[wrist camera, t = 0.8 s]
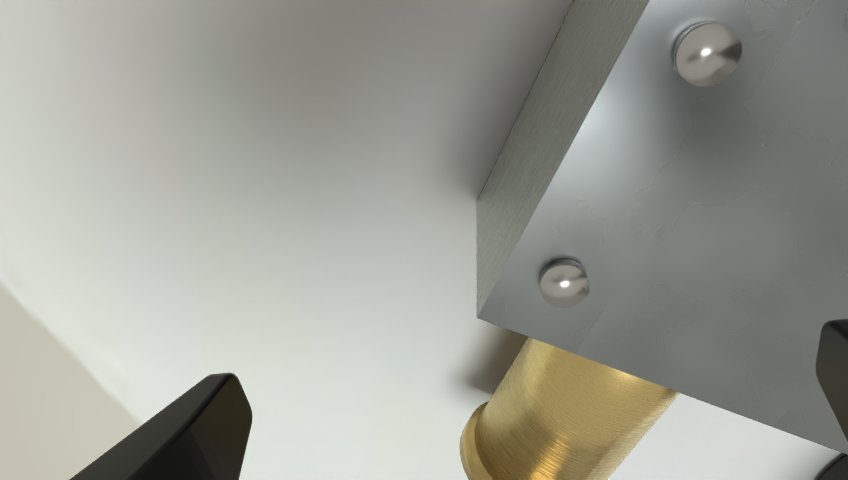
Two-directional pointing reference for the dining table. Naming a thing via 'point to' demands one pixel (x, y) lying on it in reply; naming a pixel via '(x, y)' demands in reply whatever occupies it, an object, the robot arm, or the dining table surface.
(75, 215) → the dining table surface
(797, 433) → the block
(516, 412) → the gold cylindrical piece
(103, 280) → the dining table surface
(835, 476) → the mug
